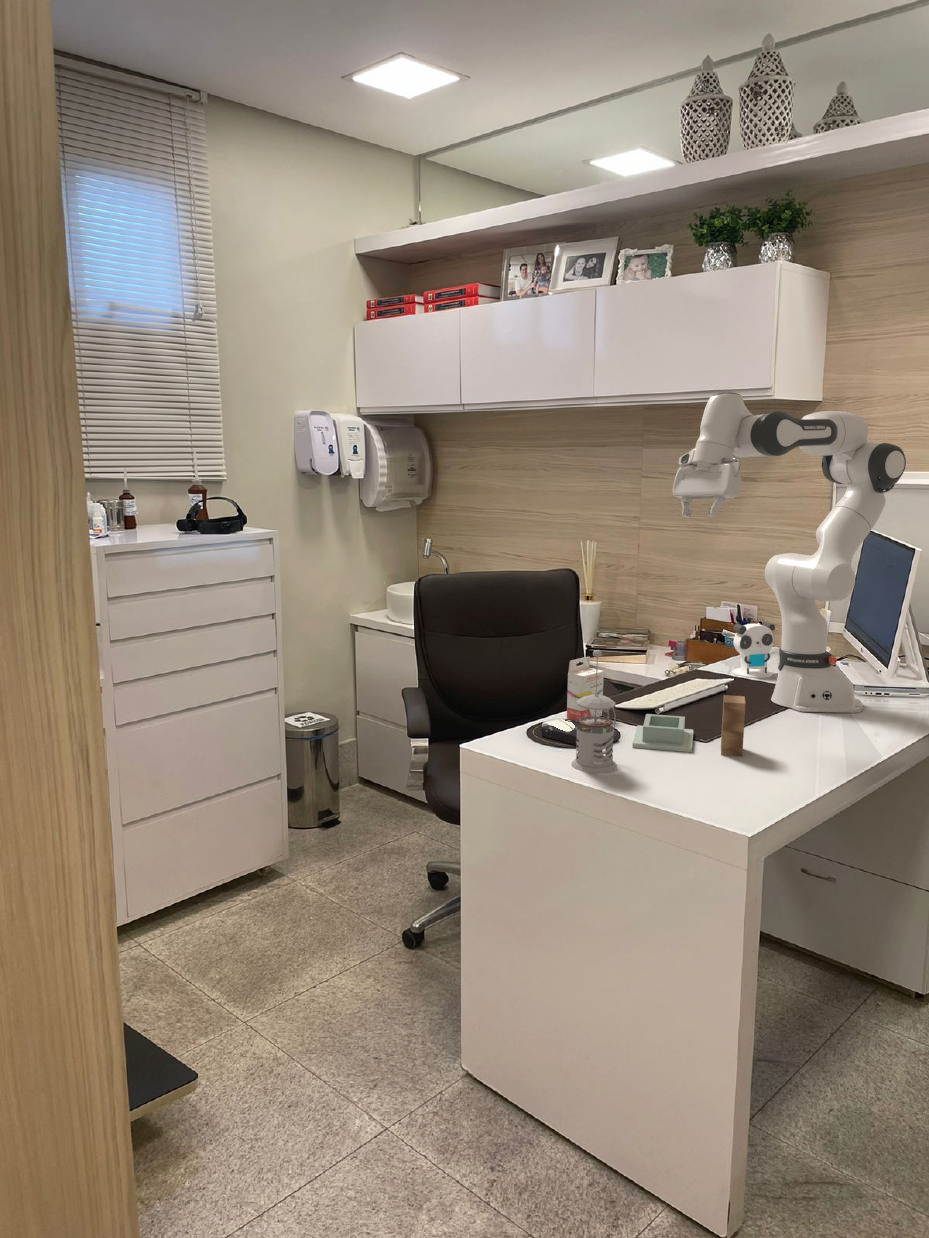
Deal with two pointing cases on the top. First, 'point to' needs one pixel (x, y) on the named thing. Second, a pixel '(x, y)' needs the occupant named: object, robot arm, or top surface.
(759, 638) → the panda figurine
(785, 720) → the top surface
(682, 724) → the socket dock
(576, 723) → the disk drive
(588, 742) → the french press
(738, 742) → the walnut block
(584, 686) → the ink cartridge box
